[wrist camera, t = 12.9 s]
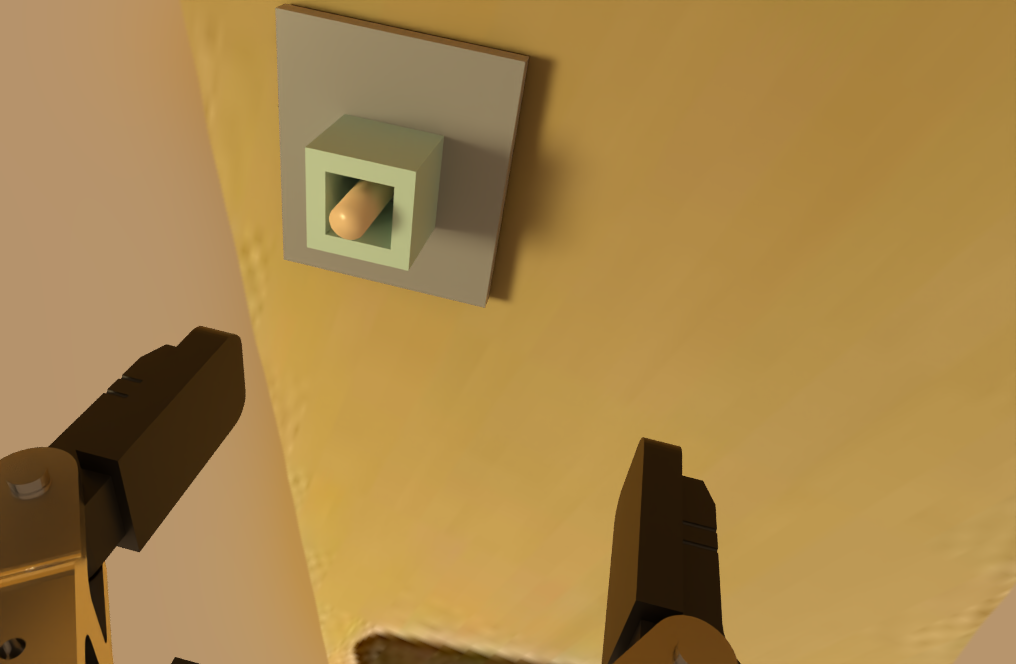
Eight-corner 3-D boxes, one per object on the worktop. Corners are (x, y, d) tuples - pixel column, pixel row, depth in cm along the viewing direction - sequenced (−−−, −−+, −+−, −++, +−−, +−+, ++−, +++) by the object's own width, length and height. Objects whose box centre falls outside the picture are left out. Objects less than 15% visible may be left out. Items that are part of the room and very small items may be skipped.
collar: (344, 114, 42) (305, 147, 37) (444, 135, 41) (416, 171, 37) (343, 206, 45) (306, 247, 41) (434, 227, 45) (408, 270, 40)
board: (285, 3, 40) (207, 36, 33) (529, 56, 39) (499, 101, 33) (291, 251, 49) (231, 315, 43) (488, 298, 49) (458, 371, 42)
